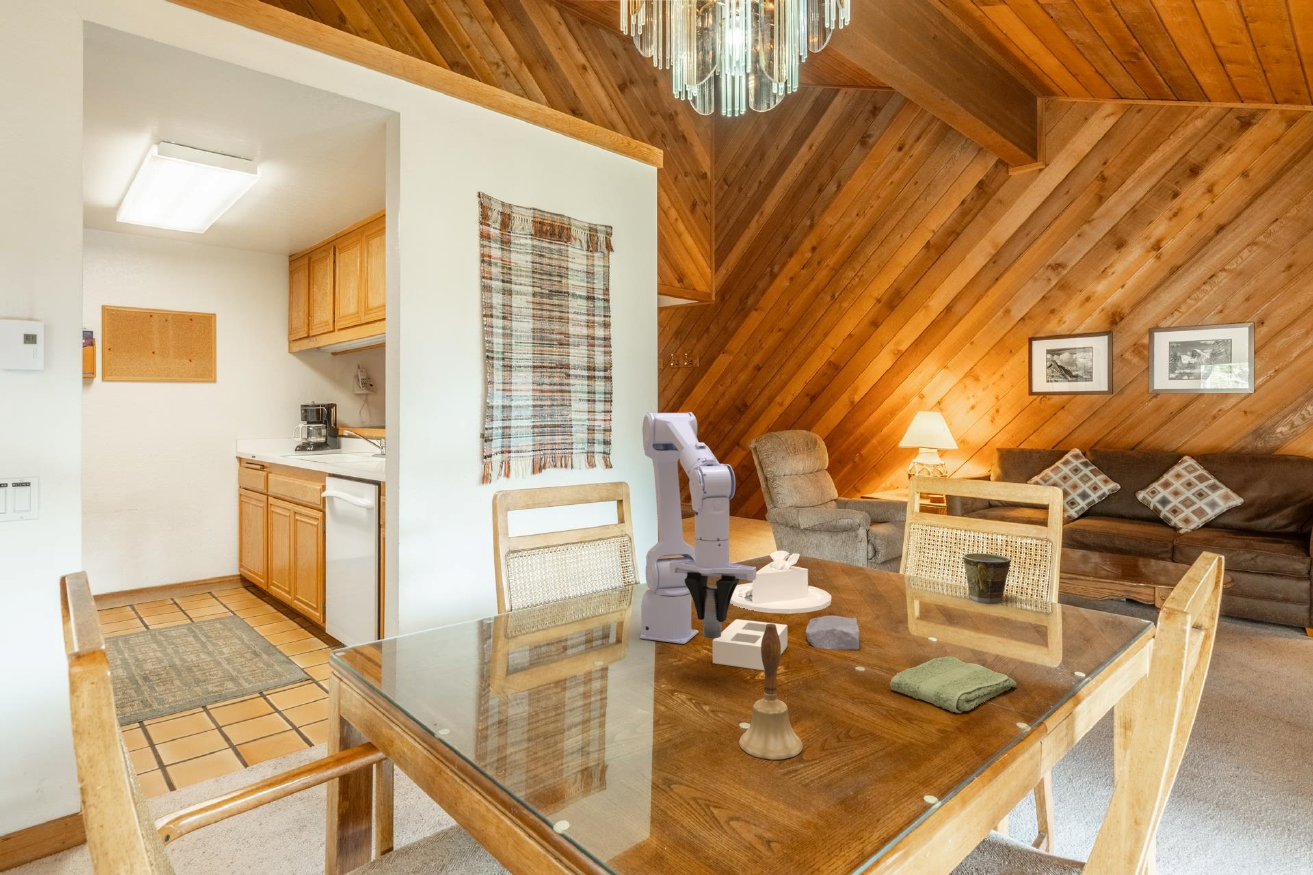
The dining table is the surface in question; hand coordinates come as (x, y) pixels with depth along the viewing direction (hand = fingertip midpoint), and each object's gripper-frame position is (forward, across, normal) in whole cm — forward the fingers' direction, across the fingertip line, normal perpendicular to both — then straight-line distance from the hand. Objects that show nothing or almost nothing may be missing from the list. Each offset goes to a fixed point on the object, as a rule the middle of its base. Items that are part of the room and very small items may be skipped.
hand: (712, 619), depth 117 cm
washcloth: (+10, +37, +10) cm, 39 cm away
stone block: (+10, +15, +27) cm, 33 cm away
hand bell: (+10, +15, -20) cm, 27 cm away
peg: (+3, 0, 0) cm, 3 cm away
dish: (+10, -2, +53) cm, 54 cm away
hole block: (+10, +3, +13) cm, 16 cm away
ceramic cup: (+10, +43, +69) cm, 82 cm away
